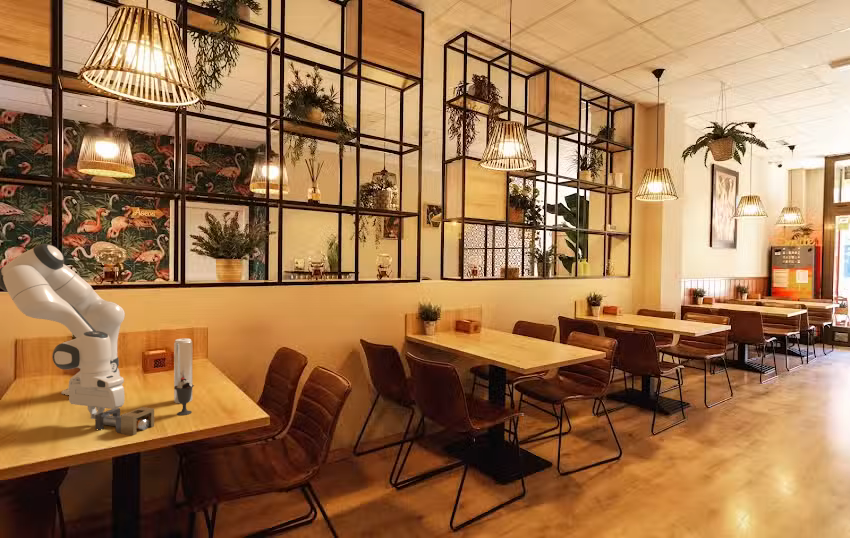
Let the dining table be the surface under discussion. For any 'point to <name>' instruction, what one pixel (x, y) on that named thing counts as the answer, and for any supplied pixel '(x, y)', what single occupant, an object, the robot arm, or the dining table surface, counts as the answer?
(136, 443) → the dining table surface
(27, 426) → the dining table surface
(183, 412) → the sundae
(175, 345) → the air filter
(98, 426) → the collar
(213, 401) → the dining table surface
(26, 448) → the dining table surface
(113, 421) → the tube
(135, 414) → the aperture bridge
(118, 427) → the collar
